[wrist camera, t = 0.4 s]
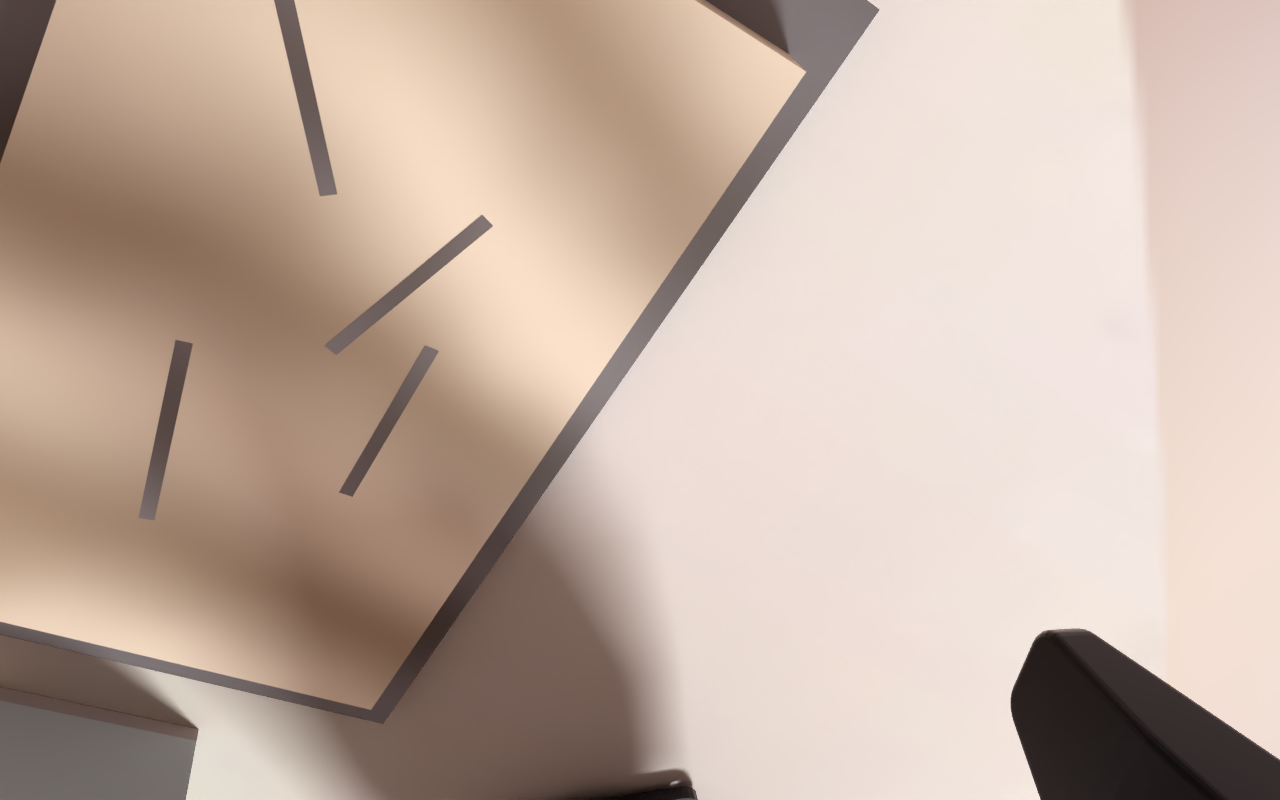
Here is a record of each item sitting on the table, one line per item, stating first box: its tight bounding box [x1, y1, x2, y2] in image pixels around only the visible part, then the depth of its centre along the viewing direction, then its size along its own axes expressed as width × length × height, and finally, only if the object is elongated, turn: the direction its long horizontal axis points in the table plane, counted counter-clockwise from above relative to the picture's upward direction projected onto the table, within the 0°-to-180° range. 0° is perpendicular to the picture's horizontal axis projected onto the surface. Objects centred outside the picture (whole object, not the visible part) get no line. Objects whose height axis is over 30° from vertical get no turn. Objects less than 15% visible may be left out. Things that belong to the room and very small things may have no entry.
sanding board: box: [0, 0, 879, 724], centre depth 21 cm, size 21×13×2 cm, turn 147°
